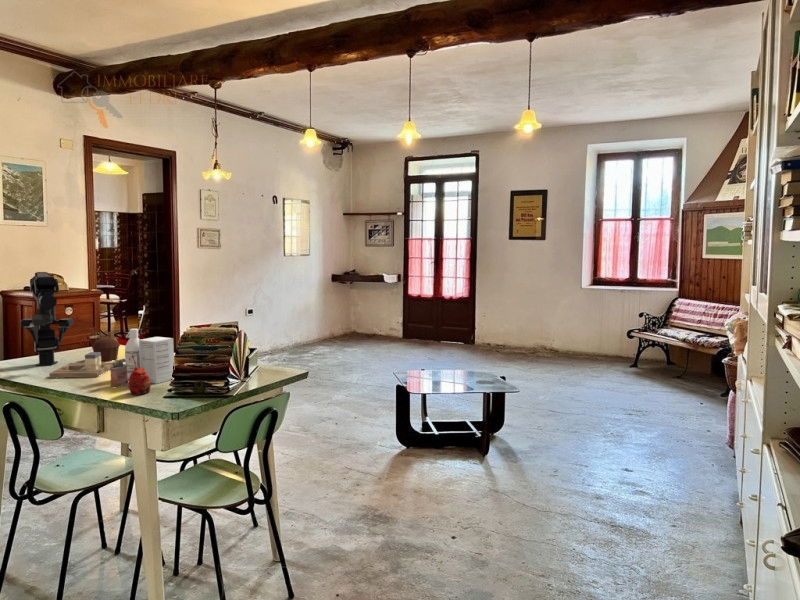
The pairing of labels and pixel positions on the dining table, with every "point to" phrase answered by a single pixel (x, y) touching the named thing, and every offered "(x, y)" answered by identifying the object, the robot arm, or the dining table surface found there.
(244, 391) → the dining table surface
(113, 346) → the muffin
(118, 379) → the lighter
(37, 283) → the robot arm
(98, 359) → the block
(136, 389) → the red clay folk toy
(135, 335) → the bath foam
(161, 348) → the supplement box
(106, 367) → the wooden frame
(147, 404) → the dining table surface
